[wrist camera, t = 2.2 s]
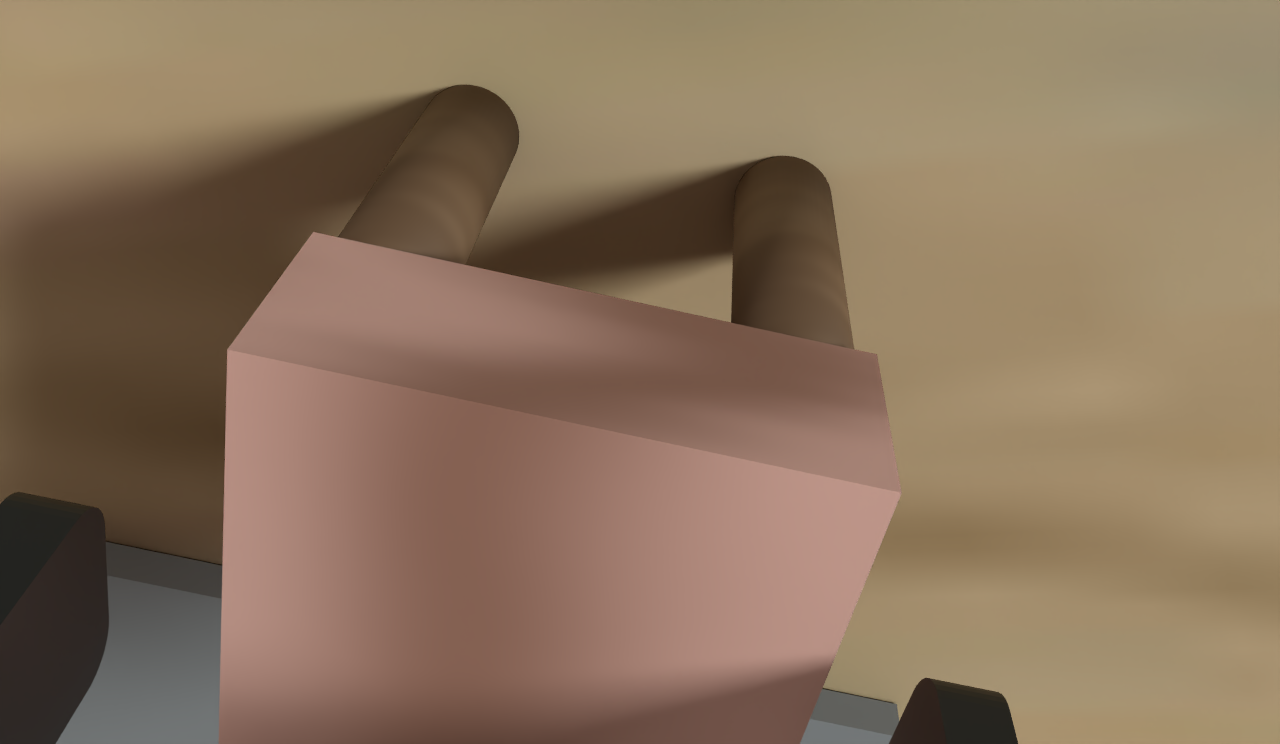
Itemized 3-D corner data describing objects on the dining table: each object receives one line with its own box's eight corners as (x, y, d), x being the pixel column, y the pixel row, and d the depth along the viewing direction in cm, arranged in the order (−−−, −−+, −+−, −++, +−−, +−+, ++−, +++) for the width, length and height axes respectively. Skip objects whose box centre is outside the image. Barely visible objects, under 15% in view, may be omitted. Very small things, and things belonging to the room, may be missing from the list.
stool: (843, 167, 17) (901, 493, 11) (741, 494, 20) (736, 898, 14) (427, 74, 17) (228, 349, 10) (389, 420, 20) (217, 796, 13)
